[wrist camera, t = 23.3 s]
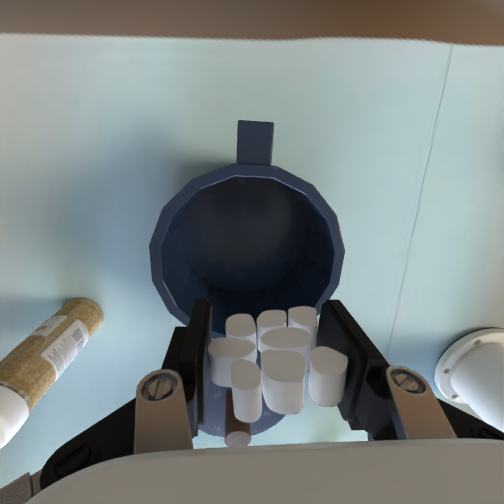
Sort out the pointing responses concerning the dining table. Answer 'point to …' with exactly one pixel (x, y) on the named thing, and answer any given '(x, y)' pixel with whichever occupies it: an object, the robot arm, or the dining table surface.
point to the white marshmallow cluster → (276, 363)
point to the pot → (246, 239)
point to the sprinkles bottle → (42, 361)
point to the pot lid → (224, 420)
